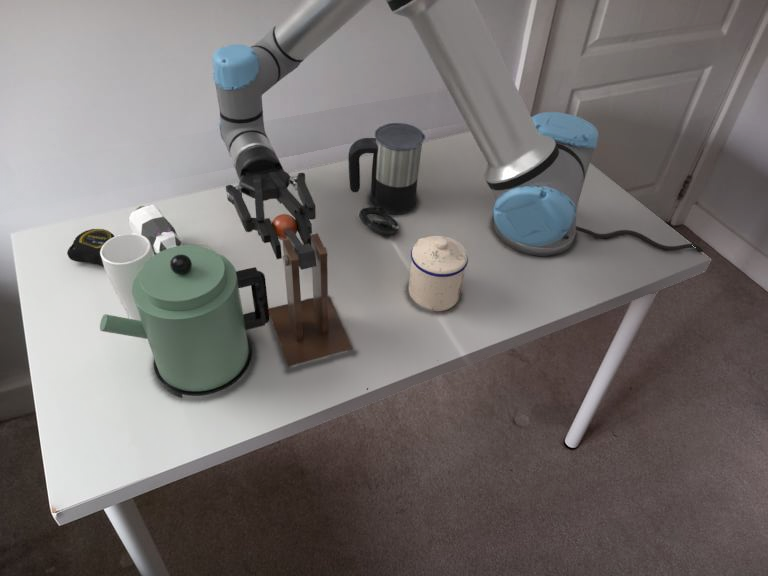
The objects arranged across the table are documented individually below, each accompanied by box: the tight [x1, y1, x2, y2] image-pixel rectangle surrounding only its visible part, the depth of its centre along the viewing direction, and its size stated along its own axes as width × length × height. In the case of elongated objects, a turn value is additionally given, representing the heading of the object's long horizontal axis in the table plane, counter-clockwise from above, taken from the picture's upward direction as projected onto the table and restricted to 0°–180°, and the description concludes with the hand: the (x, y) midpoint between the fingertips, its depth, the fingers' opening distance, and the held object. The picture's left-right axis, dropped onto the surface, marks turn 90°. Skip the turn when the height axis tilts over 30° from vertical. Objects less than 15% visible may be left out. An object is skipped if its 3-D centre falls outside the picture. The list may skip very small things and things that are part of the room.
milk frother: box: [347, 122, 427, 237], centre depth 111 cm, size 14×16×15 cm
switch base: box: [269, 232, 353, 367], centre depth 87 cm, size 12×10×18 cm
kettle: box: [99, 244, 271, 399], centre depth 81 cm, size 22×14×20 cm, turn 112°
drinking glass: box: [100, 232, 154, 321], centre depth 88 cm, size 7×7×15 cm
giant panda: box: [128, 204, 183, 255], centre depth 99 cm, size 15×6×10 cm, turn 38°
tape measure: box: [66, 228, 115, 267], centre depth 101 cm, size 7×7×4 cm
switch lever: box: [271, 213, 317, 270], centre depth 87 cm, size 15×4×4 cm, turn 22°
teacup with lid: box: [407, 235, 469, 312], centre depth 97 cm, size 12×9×12 cm
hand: (294, 248), depth 88 cm, fingers closed on switch lever, 4 cm apart
